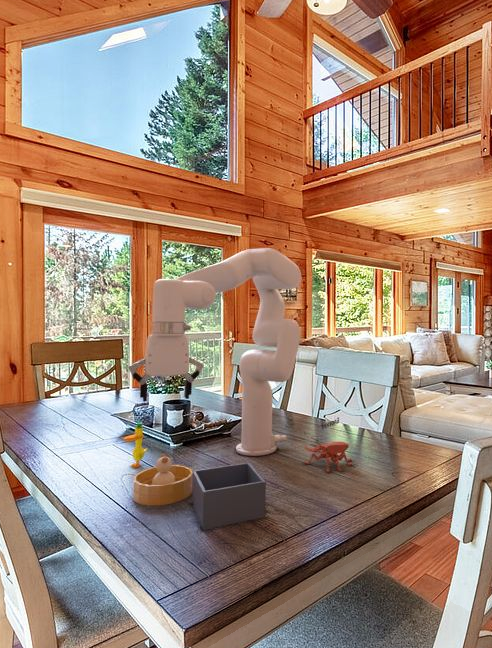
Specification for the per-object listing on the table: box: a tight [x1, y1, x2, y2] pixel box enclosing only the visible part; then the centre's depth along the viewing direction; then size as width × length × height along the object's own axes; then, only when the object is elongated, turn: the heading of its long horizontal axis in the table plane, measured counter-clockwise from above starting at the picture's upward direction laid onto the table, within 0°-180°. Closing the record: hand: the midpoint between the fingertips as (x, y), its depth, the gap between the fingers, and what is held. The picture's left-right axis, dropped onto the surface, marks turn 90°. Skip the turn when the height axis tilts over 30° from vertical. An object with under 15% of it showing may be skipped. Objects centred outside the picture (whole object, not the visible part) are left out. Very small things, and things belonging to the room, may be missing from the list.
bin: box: [191, 461, 267, 531], centre depth 100 cm, size 13×13×8 cm
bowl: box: [132, 464, 194, 507], centre depth 107 cm, size 13×13×5 cm
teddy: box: [152, 453, 175, 485], centre depth 107 cm, size 5×5×9 cm
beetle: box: [303, 417, 354, 473], centre depth 131 cm, size 15×12×13 cm
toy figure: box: [122, 422, 148, 469], centre depth 126 cm, size 7×4×12 cm, turn 138°
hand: (166, 399), depth 110 cm, fingers open, 9 cm apart
